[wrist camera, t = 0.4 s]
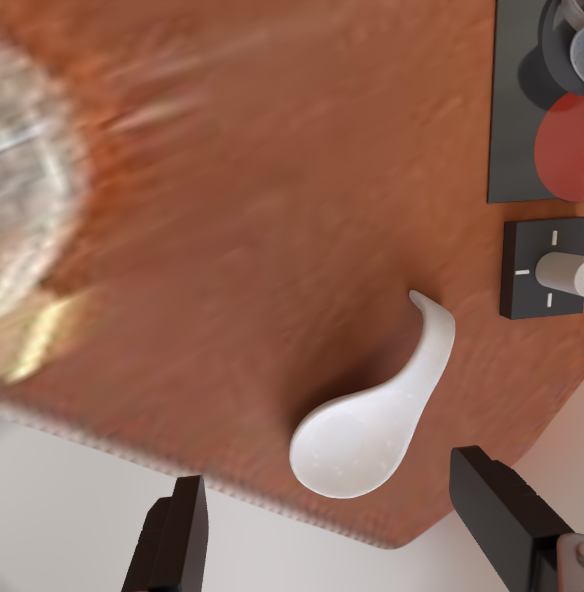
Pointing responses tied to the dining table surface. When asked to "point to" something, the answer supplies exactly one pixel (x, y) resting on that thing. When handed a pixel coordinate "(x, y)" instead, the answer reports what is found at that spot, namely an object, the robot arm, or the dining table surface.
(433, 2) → the dining table surface
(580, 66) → the ceramic mug
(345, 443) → the spoon rest
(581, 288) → the hob knob
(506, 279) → the control box
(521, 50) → the hob
